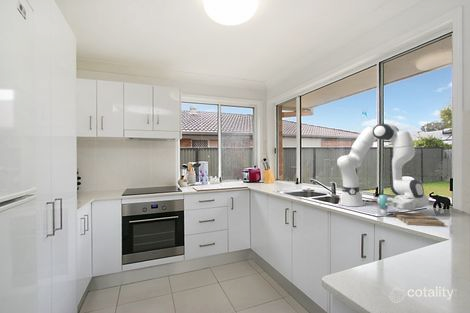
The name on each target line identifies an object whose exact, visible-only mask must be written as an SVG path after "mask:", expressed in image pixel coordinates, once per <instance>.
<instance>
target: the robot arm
mask: <svg viewBox="0 0 470 313" xmlns="http://www.w3.org/2000/svg"><path fill="white" fill-rule="evenodd" d="M377 140H381V141H390V142H391V144H392V150H393V156H392V158H391V161H390V170H391V173H390V174H391V176H390V177H391V182H390V190H391V192H392V193H393V194H394V195H395V196H394V197H393V198H392V197H388V196H387V202H386V203H385V205H386V206H388V207H392V208H397V209H398V210H409V211H415V210H416V209H423V208H425V207H427V206H428V205H429V203H430V199H429V197H428V195H427V194H425V191H424V186H423V183H421V182H420V180H418V179H407V180H406V179H405V180H403V167H404V165H406V163H407V162H410V161H411V160H412V159H413V158H414V156H415V155H416V149H415V144H414V140H413V138H412V135H411V133H410V132H409V131H407V130H400V129H399V128H398V127H397V126H395V125H392V124H391V123H390V124H389V123H379V124H376V125H374V126H367V127H365V128H364V129H363V130H362V131H361V132H360V134H359V135H358V136H357V138H356V139H355V141H354V142H353V144H352V145H351V149H350V152H349V154H345V155H342V156H340V157H338V158H337V160H336V164H337V166H338V167H339V169H340V173H341V176H342V188H341V189H342V190H341V191H342V192H341V193H340V195H338V196H339V197H338V198H339V200H338V203H337V205H339V206H344V207H346V206H347V207H362V206H366V203H364V202H363V200H364V199H363V194H362V192H360V190H361V188H360V186H359V185H360V182H359V176H358V174H357V171H356V169H357V168H359V167H361V165H362V164H363V160H364V158H365V156H366V154H367V152H368V151H369V150H370V149H371V147H372V146H373V145H374V143H375V142H376V141H377ZM376 201H377V204H378V205H380V201H379V197H377V200H376Z"/></svg>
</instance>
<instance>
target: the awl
mask: <svg viewBox="0 0 470 313" xmlns="http://www.w3.org/2000/svg"><path fill="white" fill-rule="evenodd" d="M378 196H379V197H378V198H379V201H380V204H379V208H380V216H381V217H382V216H383V218H387V217H388V207H389V206H386V205H385V203H386V202H387V197H388V195H387V194H379V195H378Z"/></svg>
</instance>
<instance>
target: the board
mask: <svg viewBox="0 0 470 313" xmlns="http://www.w3.org/2000/svg"><path fill="white" fill-rule="evenodd" d="M392 215H393V216H394V217H395V218H396V219H398V220H399V221H401V222H403V223H404V224H406V225H407V226H424V227H425V226H427V227H445V226H446V225H445V222H444V221H442V220H440V219H438V218H435V217H433V216H431V215H429V214H427V213H424V212H396V211H395V212H394V211H393V214H392Z"/></svg>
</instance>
